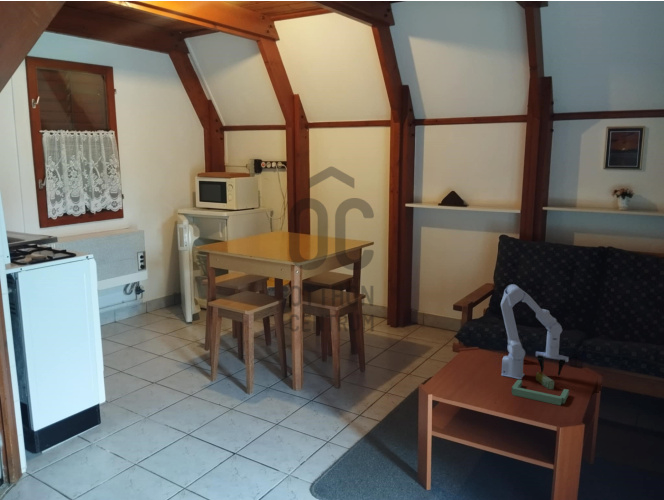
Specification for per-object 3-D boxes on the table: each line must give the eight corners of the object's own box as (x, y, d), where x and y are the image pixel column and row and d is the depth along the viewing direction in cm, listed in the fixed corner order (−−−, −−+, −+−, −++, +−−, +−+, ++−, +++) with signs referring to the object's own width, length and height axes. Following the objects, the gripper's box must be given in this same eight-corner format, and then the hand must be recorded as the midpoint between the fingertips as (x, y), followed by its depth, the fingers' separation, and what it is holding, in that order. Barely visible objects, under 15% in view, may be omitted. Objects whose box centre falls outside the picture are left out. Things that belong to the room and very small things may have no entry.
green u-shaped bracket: (510, 394, 243) (510, 387, 243) (517, 384, 255) (517, 378, 254) (563, 406, 232) (563, 399, 232) (568, 395, 243) (568, 388, 243)
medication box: (554, 389, 250) (554, 381, 250) (548, 389, 250) (549, 381, 249) (540, 379, 262) (541, 371, 261) (535, 380, 261) (535, 371, 261)
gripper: (570, 346, 262) (568, 373, 264) (538, 341, 270) (536, 367, 272) (567, 350, 256) (565, 378, 258) (535, 344, 264) (533, 372, 266)
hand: (550, 373), depth 265 cm, fingers open, 7 cm apart
